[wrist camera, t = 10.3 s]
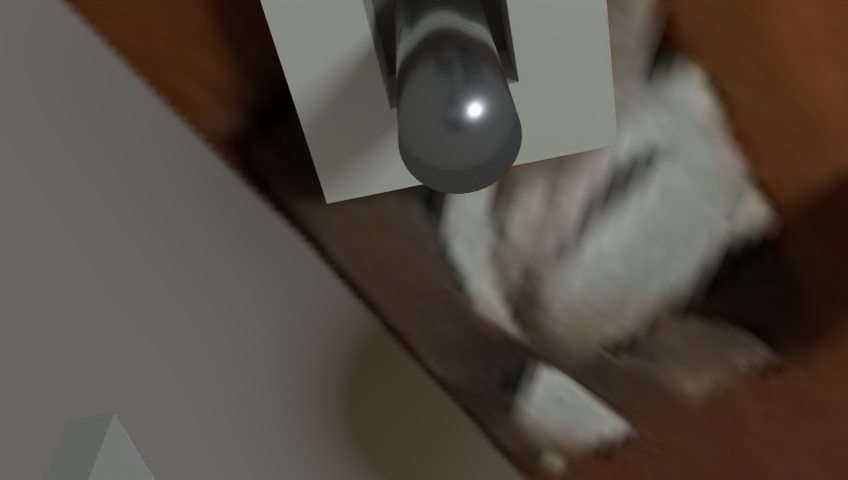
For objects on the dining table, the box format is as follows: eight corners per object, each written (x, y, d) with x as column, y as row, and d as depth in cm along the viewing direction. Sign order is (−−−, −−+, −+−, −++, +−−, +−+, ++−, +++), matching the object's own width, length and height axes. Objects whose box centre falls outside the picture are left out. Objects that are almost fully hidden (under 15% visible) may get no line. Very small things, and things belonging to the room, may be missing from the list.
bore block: (245, -123, 29) (226, -103, 26) (566, -201, 28) (590, -191, 25) (332, 158, 35) (327, 203, 32) (595, 103, 34) (617, 144, 31)
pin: (385, -26, 31) (385, 95, 21) (471, -45, 30) (512, 69, 20) (404, 55, 32) (412, 204, 22) (485, 38, 32) (529, 180, 22)
